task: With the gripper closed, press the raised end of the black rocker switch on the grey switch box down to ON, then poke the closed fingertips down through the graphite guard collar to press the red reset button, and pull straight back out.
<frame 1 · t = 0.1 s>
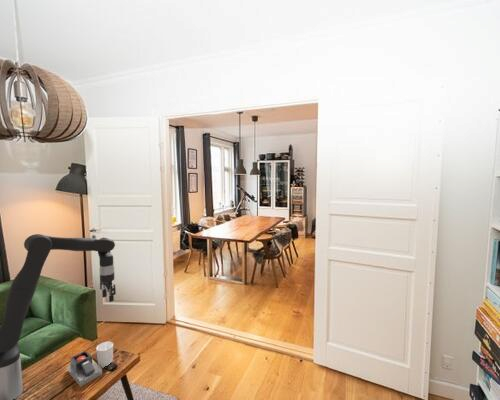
hand: (108, 299, 153), 29 cm above the table, fingers open, 8 cm apart
rocker: (87, 367, 132), point 5 cm above the table, hinge at 14.0°
white cup: (105, 363, 142), on the table
grey switch box: (84, 372, 135), on the table
reset button: (81, 359, 137), point 5 cm above the table, slide at 0.0 cm
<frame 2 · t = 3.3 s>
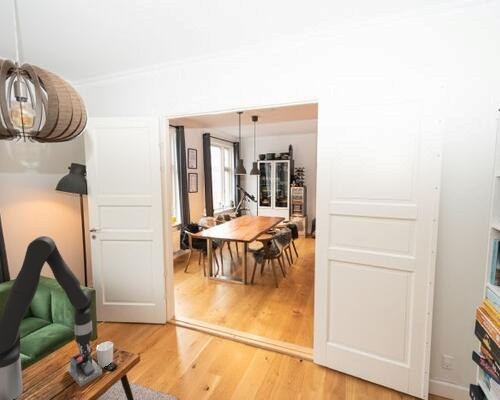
hand: (85, 362, 134), 6 cm above the table, fingers closed
rocker: (87, 367, 132), point 5 cm above the table, hinge at 13.8°, touching gripper
everything else where it was.
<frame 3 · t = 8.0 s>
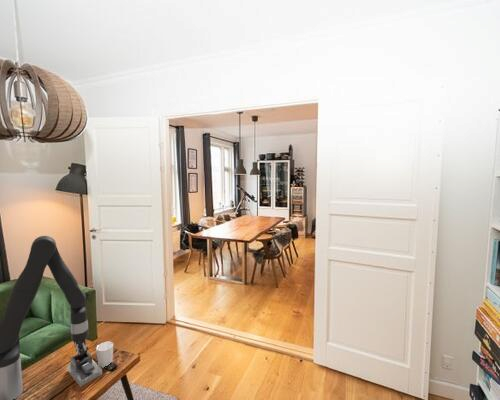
hand: (81, 360, 137), 5 cm above the table, fingers closed
rocker: (87, 367, 132), point 5 cm above the table, hinge at -7.3°
reset button: (81, 361, 137), point 4 cm above the table, slide at -1.1 cm
everything else where it was.
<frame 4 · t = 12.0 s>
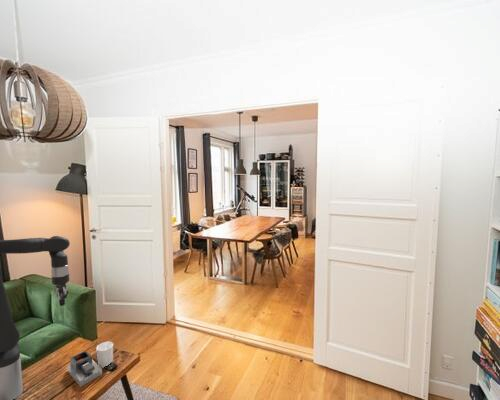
hand: (62, 305, 140), 32 cm above the table, fingers closed
rocker: (87, 367, 132), point 5 cm above the table, hinge at -7.6°
everything else where it was.
at the end: rocker at -8° (first picture: +14°); reset button slide at -1.3 cm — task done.
